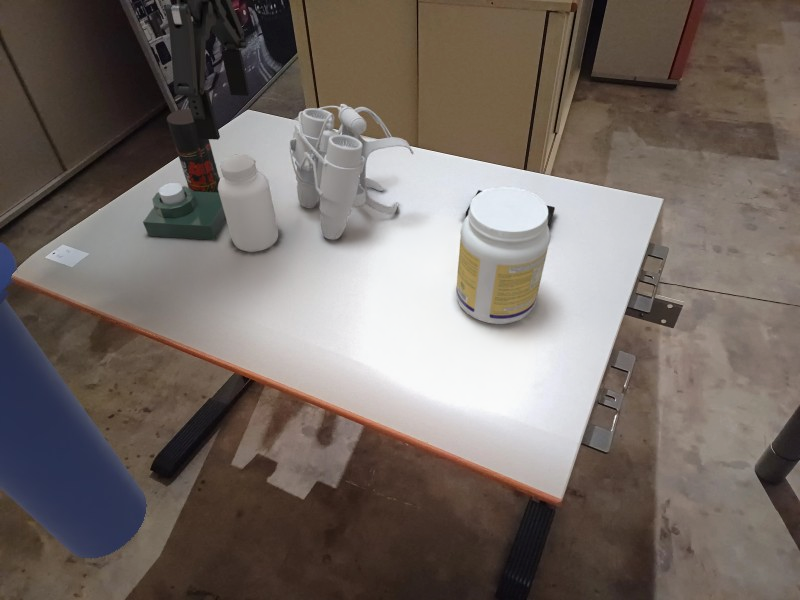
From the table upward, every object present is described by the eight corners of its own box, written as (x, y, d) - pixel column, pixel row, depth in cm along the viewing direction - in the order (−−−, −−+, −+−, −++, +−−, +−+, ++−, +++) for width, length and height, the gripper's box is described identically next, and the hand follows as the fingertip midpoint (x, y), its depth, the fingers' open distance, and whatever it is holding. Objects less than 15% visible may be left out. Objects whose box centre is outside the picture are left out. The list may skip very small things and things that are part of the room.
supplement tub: (543, 284, 87) (565, 193, 75) (523, 337, 79) (544, 245, 67) (469, 264, 90) (479, 175, 79) (443, 313, 83) (450, 222, 71)
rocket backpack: (410, 235, 101) (436, 131, 89) (315, 247, 92) (331, 132, 80) (367, 189, 112) (385, 90, 100) (278, 195, 103) (287, 87, 91)
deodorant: (183, 194, 106) (159, 120, 95) (203, 178, 109) (181, 106, 99) (209, 201, 104) (187, 127, 93) (228, 185, 108) (208, 112, 97)
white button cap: (158, 205, 95) (154, 195, 94) (167, 192, 98) (164, 182, 97) (180, 206, 95) (177, 196, 93) (189, 193, 98) (186, 183, 96)
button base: (148, 236, 96) (138, 212, 93) (171, 203, 104) (162, 180, 100) (214, 240, 96) (207, 216, 92) (233, 206, 103) (226, 183, 99)
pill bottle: (225, 251, 93) (203, 174, 83) (242, 223, 99) (222, 147, 88) (271, 255, 92) (254, 177, 82) (284, 226, 98) (270, 150, 88)
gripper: (173, -26, 56) (222, 160, 71) (247, -79, 73) (273, 79, 88) (103, -28, 56) (166, 158, 71) (192, -80, 74) (228, 78, 89)
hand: (225, 115), depth 80 cm, fingers open, 13 cm apart
